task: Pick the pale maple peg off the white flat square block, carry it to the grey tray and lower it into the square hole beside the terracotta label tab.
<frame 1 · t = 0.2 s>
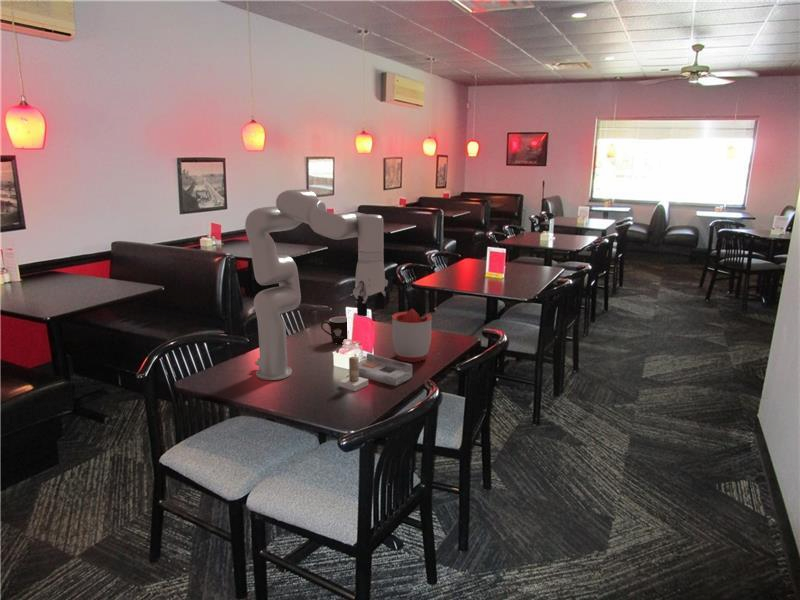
hand: (371, 312, 171), 31 cm above the table, tool pointing down, fingers open, 9 cm apart
grey tray: (381, 375, 202), on the table
white flat square block: (354, 385, 193), on the table
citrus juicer: (412, 357, 222), on the table
peg: (354, 380, 193), point 2 cm above the table, touching white flat square block
coffee mug: (337, 341, 240), on the table
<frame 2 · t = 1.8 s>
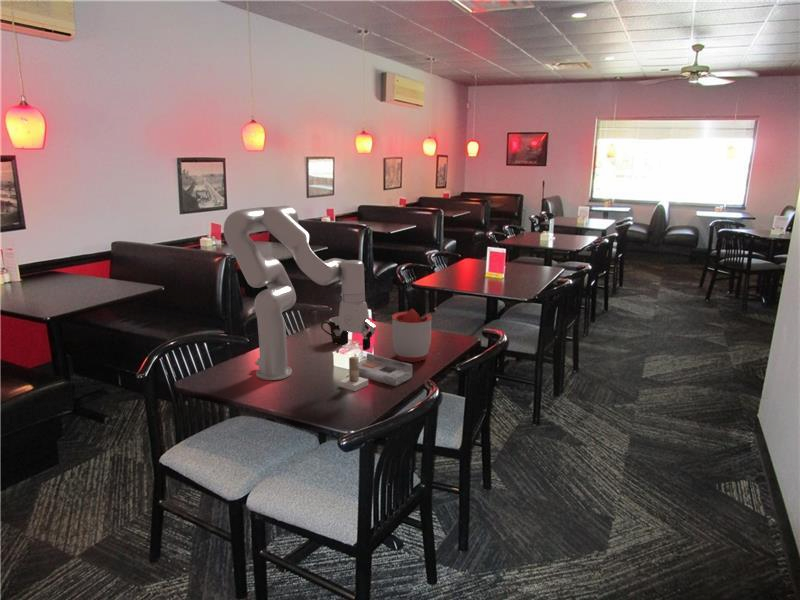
hand: (355, 346, 189), 14 cm above the table, tool pointing down, fingers open, 9 cm apart
nothing on the table moved.
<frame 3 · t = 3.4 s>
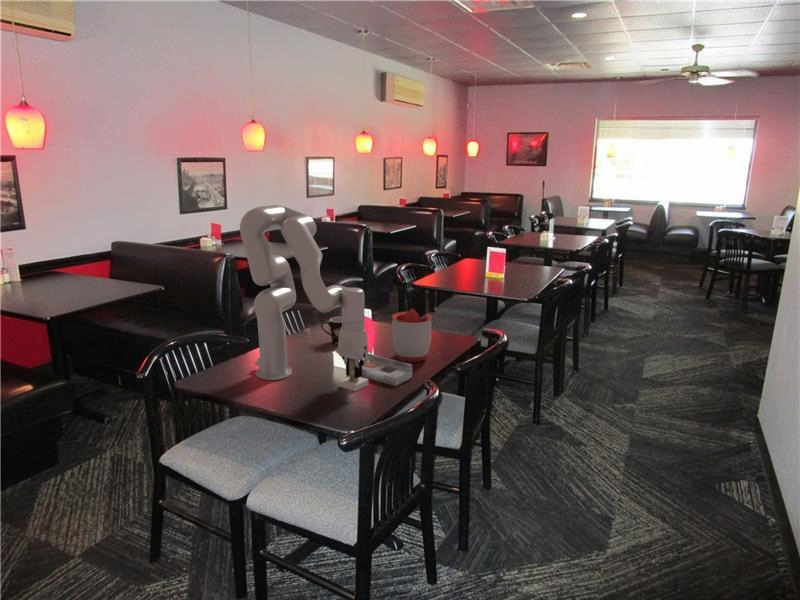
hand: (353, 375, 192), 4 cm above the table, tool pointing down, fingers closed on peg, 3 cm apart
peg: (354, 380, 193), point 2 cm above the table, touching gripper
everything else where it was.
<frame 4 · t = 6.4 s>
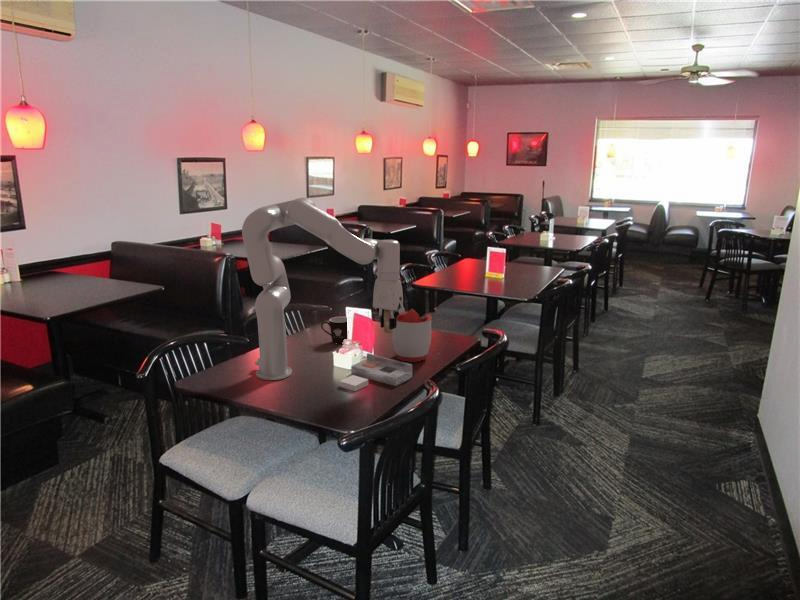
hand: (388, 327, 196), 19 cm above the table, tool pointing down, fingers closed on peg, 3 cm apart
peg: (388, 331, 196), point 17 cm above the table, touching gripper
everything else where it was.
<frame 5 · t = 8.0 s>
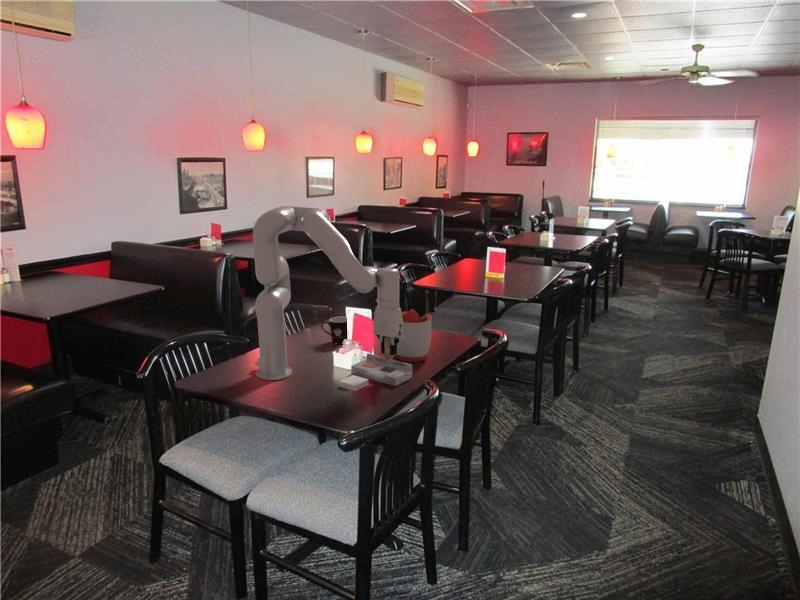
hand: (389, 353, 198), 9 cm above the table, tool pointing down, fingers closed on peg, 3 cm apart
peg: (389, 357, 199), point 7 cm above the table, touching gripper
everything else where it was.
when the fingers open (4 cm above the table, at t = 9.3 s): peg drops 2 cm, resting in grey tray.
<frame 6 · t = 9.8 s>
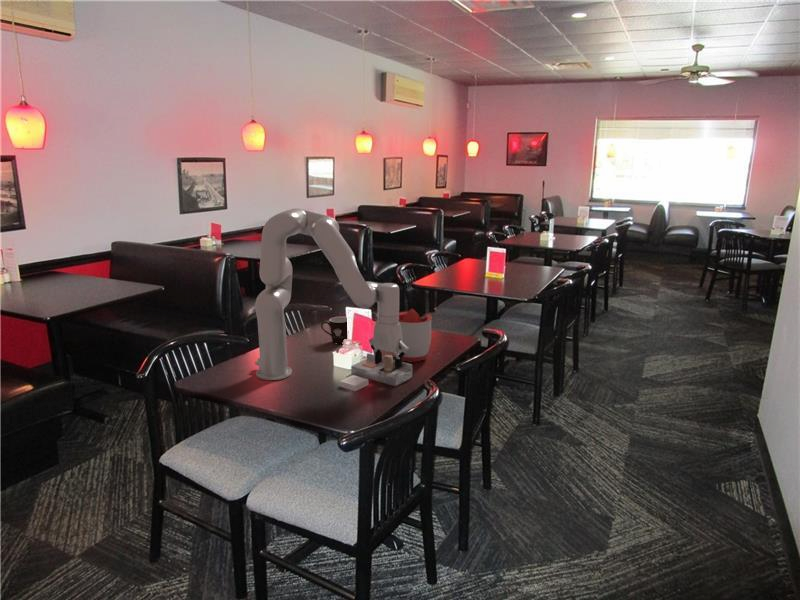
hand: (388, 365, 199), 5 cm above the table, tool pointing down, fingers open, 8 cm apart
peg: (388, 377, 201), resting in grey tray
everything else where it was.
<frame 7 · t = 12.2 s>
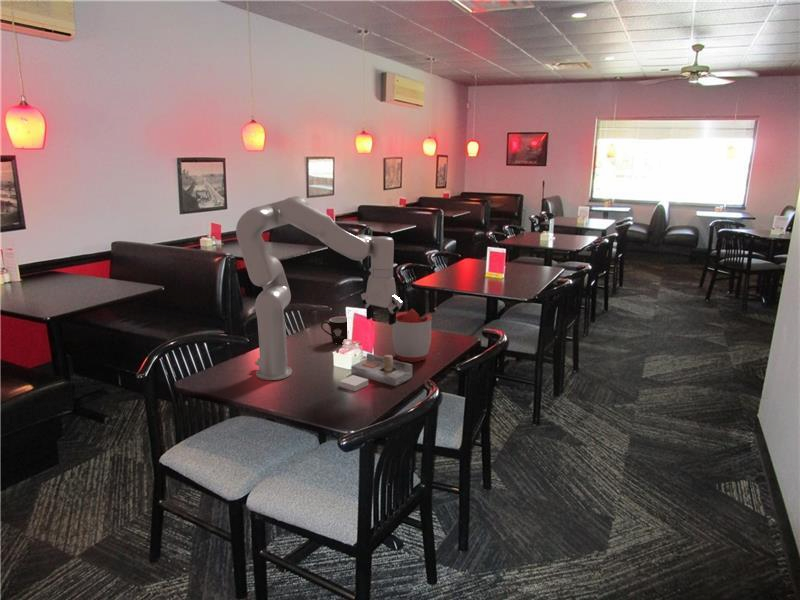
hand: (380, 321, 195), 21 cm above the table, tool pointing down, fingers open, 9 cm apart
nothing on the table moved.
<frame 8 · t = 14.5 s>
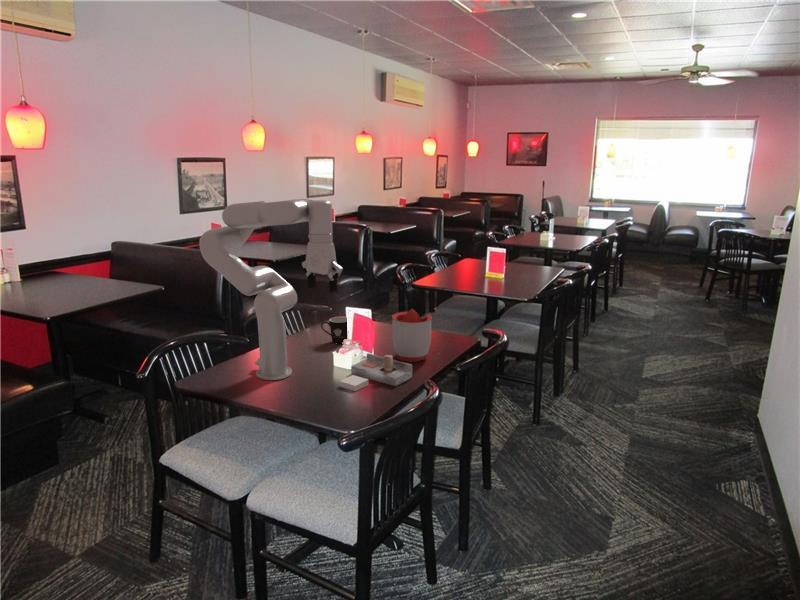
hand: (322, 289, 187), 33 cm above the table, tool pointing down, fingers open, 9 cm apart
nothing on the table moved.
at the end: peg 0.0 cm from the target spot on the grey tray, point 0.0 cm above the grey tray's base; peg tilted 0°; the gripper is holding nothing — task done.
